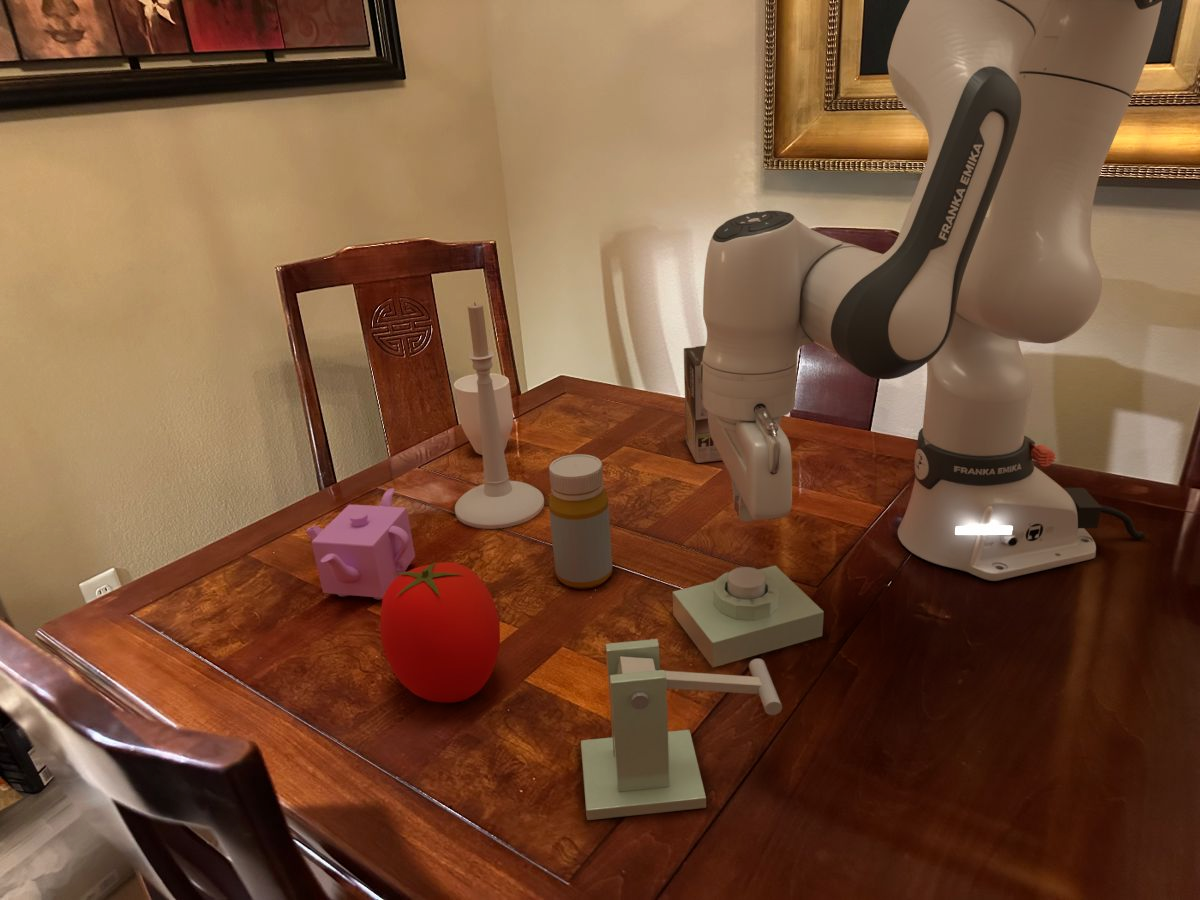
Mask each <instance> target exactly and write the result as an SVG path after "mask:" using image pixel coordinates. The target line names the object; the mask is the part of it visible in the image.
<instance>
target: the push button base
mask: <svg viewBox="0 0 1200 900" xmlns="http://www.w3.org/2000/svg"><path fill="white" fill-rule="evenodd" d="M758 570H760V571H761V572H763V573H764V575H765V578H766V580H765V594H764V595H763V596H762V597H760V598H756V599H753V600H746V599H738V598H735V597H733V596H731V595H730V594H729V593H728V590H727V576H728V574H729V572H730V571H727V572H724V573H722V574H721V575H720V576H718V577H717V578H716V579H715V580H712V581H709V582H704V583H700V584H697V585H693V586H689V587H684V588H681V589H678V590H674V591H672V615H673V617H674V618H675V620H676V621H677V622H678V624H679V625H680V626H681V628H682V629H683V630H684V632H685V633H686V634H687V635H688V637H689V638H690V640H691V641H692V642H693V644H694V645H695V647H697V649H698V650H699V652H700V653H701V654H702V656H703V657H704V658H705V659H706V661H707V662H708V663H709V665H710V667H712V668H717V667H721V666H725V665H727V664H731V663H734V662H738V661H741V660H744V659H748V658H751V657H754V656H759V655H762V654H765V653H769V652H772V651H776V650H779V649H782V648H783V649H784V648H785V647H789V646H793V645H797V644H800V643H803V642H808V641H810V640H815V639H817V638H818V639H819V638H820V637H823V634H824V633H823V630H824V617H825V615H824V614H825V613H824V612H825V611H824V610H823V609H822V608H820V606H819V605H818V604H817V603H815V602H814V601H813V600H812V599H811V597H809V596H808V595H807V594H806V593H805V592H804V591H803V590H802V589H801V588H800V587H799V586H798V585H796V583H795V582H794V581H793V580H792V579H790V578H789V576H787V575H786V574H785V572H783V571H782V570H781V569H780V568H779V567H778V566H777V565H770V566H766V567H763V568H759V569H758Z"/></svg>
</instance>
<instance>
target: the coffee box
mask: <svg viewBox="0 0 1200 900" xmlns="http://www.w3.org/2000/svg"><path fill="white" fill-rule="evenodd" d="M705 346H706V345H698V346H697V345H696V346H694V347H685V348H683V371H684V372H683V375H684V376H683V379H684V381H683V382H684V407H685V408H684V415H685V419H684V420H685V423H684V424H685V443H686V445H687V447H688V449H689V451H690V453H691V455H692V457H693V460H694V461H695V463H696V464H701V463H708V462H709V463H710V462H720V461H722V462H723V460H722V458H721V456H720V454H719V452H718V450H717V448H716V446H715V444H714V442H713V440H712V438H711V435H710V430H709V425H708V415H707V410H706V409H705V408H704V407H703V390H702V381H701V377H700V365H701V362H702V361H703V352H704V349H705Z"/></svg>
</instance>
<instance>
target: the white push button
mask: <svg viewBox="0 0 1200 900" xmlns="http://www.w3.org/2000/svg"><path fill="white" fill-rule="evenodd" d="M728 572H729V574H728V576H727V590H728V593H729V594H730V595H731V596H733V597H735V598H738V599H746V600H753V599H756V598H760V597H762V596H763V595H764V594H765V580H766V578H765V575H764V573H763V572H761V571H760V570H759V569H758V568H755V567H751V566H739V567H736V568H733V569H731V570H730V571H728Z"/></svg>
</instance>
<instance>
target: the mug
mask: <svg viewBox="0 0 1200 900" xmlns="http://www.w3.org/2000/svg"><path fill="white" fill-rule="evenodd" d="M490 378H491V379H492V385H493V390H494V396H495V402H496V408H497V413H498V419H499V425H500V431H501V437H502V442H503V448H504V451H505V450H506V448H507V445H508V441H509V440H510V435H511V433H512V430H513V426H514V410H513V400H512V393H511V392H512V391H511V386H510V385H511V384H510V380H509V378H508V377H507V376H505V375H504V374H499V373H493V372H492V373H491V372H490ZM477 380H478V374H477V373H475V374H469V375H465V376H462V377H460V378H458V379H456V380H455V381H454V383H453V388H454V395H455V401H456V406H457V414H458V418H459V422H460V427H461V430H462V431H463V433H464V435H465V436H466V438H467V440H468V441H469V443H470V445H471V446H472V448H473V450H474V452H475V453H476V454H478V455H481V456H483V453H482V440H481V426H480V412H479V398H478V385H477Z"/></svg>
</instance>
